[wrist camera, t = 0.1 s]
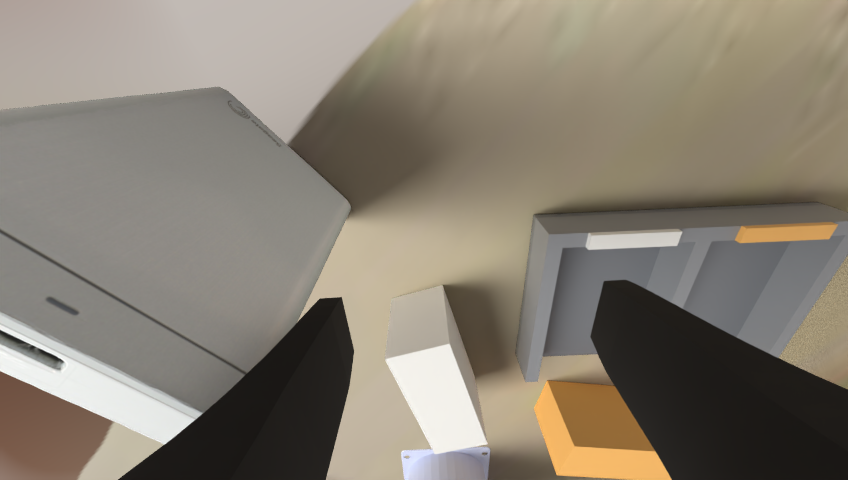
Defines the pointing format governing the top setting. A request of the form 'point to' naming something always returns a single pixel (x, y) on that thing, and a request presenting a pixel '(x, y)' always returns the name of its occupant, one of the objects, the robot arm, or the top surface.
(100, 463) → the top surface
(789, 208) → the grey rectangular tray
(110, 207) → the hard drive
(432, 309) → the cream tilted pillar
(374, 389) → the top surface
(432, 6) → the top surface
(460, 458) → the robot arm
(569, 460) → the orange rectangular block
